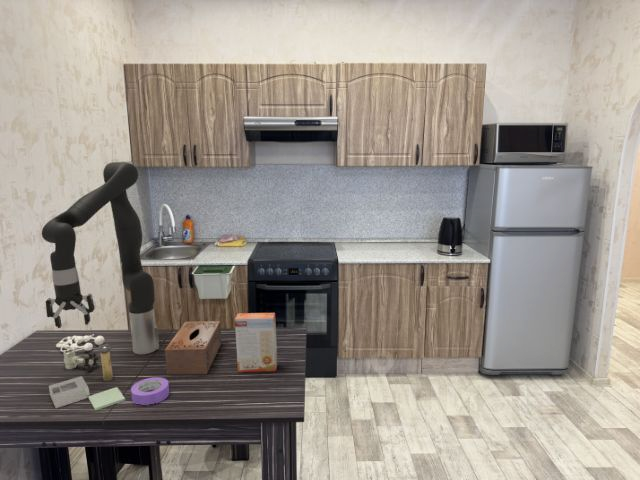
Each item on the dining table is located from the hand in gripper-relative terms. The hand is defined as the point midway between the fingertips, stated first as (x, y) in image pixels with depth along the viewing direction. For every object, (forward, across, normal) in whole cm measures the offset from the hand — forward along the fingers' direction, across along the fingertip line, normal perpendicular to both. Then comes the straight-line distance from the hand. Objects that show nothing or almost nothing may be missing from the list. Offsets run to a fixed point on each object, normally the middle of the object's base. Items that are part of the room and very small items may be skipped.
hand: (73, 325), depth 156 cm
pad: (+21, -11, +16) cm, 28 cm away
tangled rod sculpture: (+22, +8, -30) cm, 38 cm away
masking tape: (+22, -24, +18) cm, 37 cm away
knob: (+21, -9, +1) cm, 23 cm away
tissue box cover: (+22, -39, -6) cm, 45 cm away
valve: (+21, +3, -10) cm, 24 cm away
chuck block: (+21, +2, +10) cm, 23 cm away
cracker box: (+22, -61, +9) cm, 66 cm away
